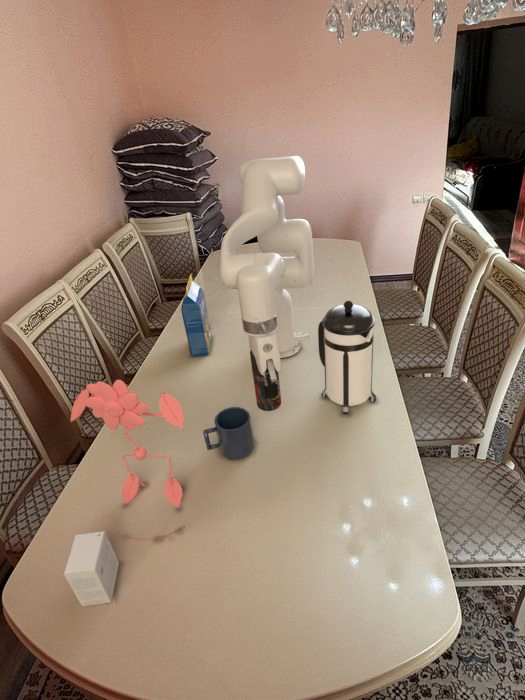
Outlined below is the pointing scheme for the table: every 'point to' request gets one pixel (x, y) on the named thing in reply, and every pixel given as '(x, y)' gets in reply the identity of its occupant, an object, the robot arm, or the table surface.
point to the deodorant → (262, 402)
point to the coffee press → (347, 354)
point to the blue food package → (196, 320)
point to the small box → (92, 568)
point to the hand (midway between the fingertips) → (267, 388)
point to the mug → (232, 433)
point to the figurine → (130, 426)
